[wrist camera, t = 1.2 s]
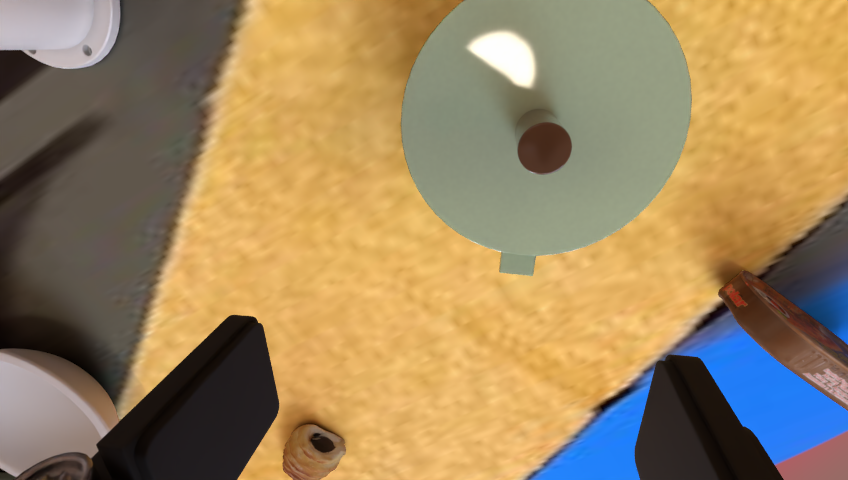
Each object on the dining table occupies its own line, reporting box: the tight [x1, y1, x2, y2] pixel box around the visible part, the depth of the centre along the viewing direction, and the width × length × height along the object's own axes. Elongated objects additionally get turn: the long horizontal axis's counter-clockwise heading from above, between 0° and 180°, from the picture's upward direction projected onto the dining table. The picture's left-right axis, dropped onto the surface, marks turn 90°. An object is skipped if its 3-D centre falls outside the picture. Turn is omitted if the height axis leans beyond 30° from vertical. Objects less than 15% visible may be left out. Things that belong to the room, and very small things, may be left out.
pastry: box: [283, 424, 346, 480], centre depth 53 cm, size 9×7×4 cm
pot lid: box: [401, 0, 692, 256], centre depth 24 cm, size 17×17×6 cm
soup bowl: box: [0, 348, 119, 477], centre depth 55 cm, size 24×24×7 cm
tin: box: [718, 271, 848, 411], centre depth 33 cm, size 15×3×8 cm, turn 57°
